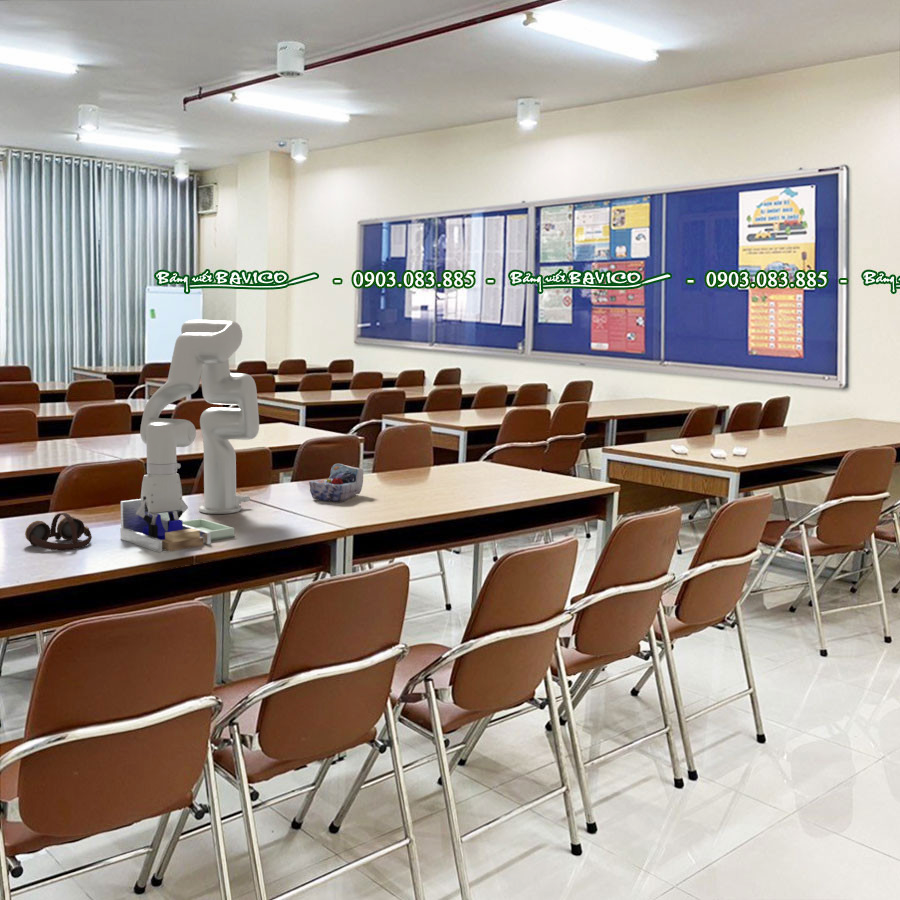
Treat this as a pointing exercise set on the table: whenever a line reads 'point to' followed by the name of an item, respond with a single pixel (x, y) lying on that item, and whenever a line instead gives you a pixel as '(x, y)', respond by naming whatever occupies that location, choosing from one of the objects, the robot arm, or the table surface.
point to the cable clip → (173, 526)
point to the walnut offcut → (182, 544)
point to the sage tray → (211, 528)
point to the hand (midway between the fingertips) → (162, 536)
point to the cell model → (338, 484)
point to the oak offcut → (182, 535)
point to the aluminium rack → (135, 524)
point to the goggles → (58, 533)
